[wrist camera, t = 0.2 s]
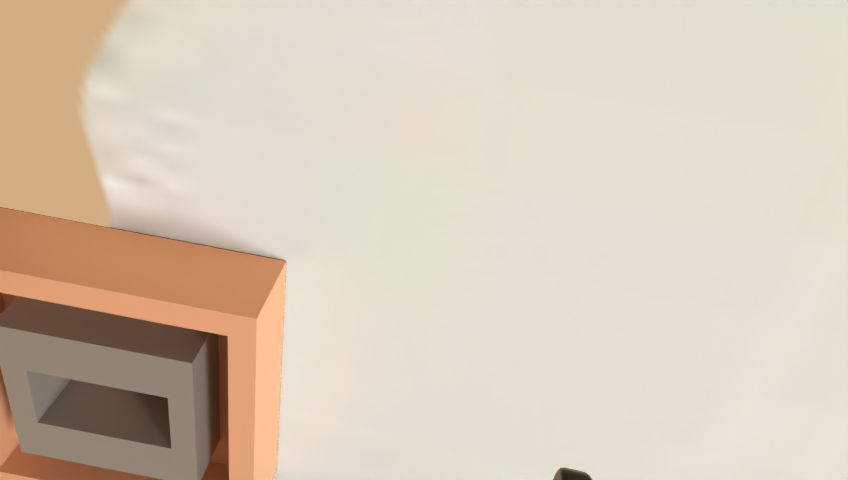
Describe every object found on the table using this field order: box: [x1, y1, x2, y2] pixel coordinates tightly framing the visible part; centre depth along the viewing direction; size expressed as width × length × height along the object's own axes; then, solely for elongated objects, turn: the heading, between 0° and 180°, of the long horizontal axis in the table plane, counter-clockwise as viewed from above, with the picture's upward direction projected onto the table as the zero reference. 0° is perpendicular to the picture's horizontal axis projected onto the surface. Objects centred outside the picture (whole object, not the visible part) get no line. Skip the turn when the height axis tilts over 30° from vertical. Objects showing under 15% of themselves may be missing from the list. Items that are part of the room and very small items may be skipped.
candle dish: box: [0, 207, 286, 480], centre depth 29 cm, size 12×12×4 cm
